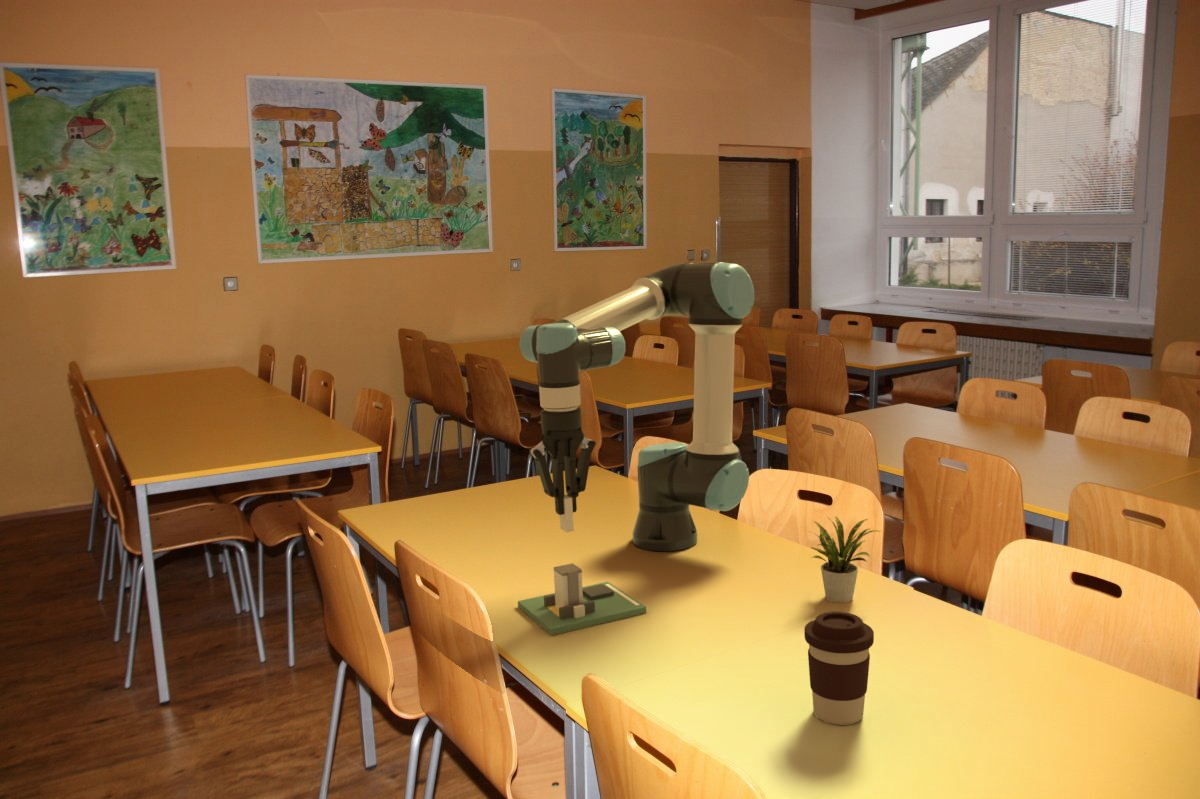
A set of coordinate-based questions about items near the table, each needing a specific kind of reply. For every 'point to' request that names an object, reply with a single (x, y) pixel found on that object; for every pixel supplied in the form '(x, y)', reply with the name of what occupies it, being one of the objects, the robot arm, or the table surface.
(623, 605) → the board
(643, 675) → the table surface
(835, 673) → the coffee cup
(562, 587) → the plug
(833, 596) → the house plant
